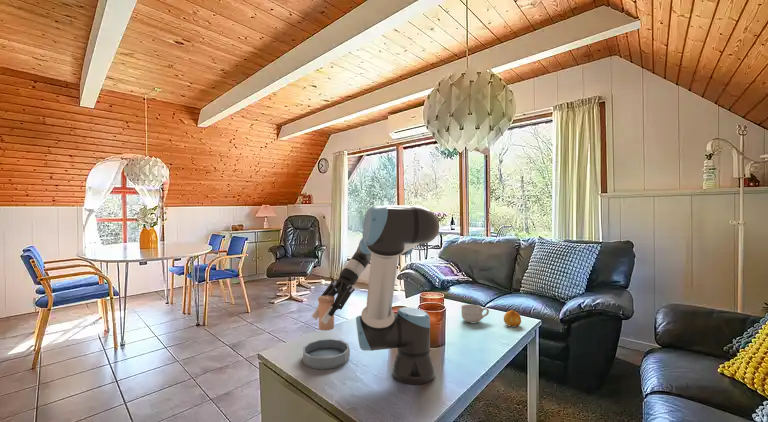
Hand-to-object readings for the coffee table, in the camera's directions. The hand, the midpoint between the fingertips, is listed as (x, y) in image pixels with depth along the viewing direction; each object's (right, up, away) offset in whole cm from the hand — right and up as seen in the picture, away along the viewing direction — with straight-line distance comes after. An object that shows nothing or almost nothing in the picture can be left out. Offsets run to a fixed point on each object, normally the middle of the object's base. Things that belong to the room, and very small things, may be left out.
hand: (318, 320), depth 135 cm
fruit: (+91, -16, +41) cm, 101 cm away
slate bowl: (+3, -16, +3) cm, 17 cm away
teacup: (+73, -16, +46) cm, 88 cm away
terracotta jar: (+3, -4, +3) cm, 5 cm away
